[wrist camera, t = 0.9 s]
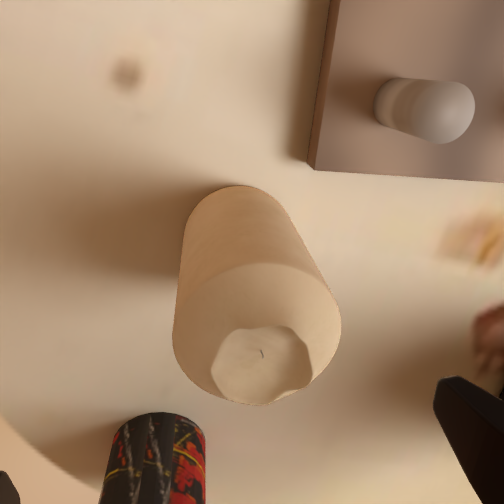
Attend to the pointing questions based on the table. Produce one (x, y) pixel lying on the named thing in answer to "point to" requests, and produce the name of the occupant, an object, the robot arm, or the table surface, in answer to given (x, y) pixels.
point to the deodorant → (156, 462)
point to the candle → (250, 301)
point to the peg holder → (412, 90)
